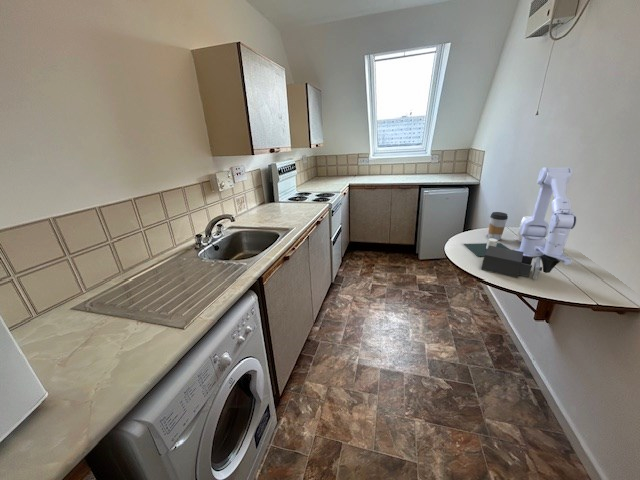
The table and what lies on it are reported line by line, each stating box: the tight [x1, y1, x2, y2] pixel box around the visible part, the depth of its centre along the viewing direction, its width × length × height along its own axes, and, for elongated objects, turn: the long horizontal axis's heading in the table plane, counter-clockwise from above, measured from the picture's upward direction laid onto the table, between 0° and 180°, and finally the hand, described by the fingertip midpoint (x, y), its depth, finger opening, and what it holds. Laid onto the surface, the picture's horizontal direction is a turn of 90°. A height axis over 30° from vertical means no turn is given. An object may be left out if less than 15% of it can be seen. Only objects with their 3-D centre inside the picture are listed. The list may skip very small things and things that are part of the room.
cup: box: [516, 215, 532, 243], centre depth 145 cm, size 8×8×14 cm
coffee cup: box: [487, 211, 509, 241], centre depth 152 cm, size 8×8×15 cm
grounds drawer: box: [518, 255, 543, 281], centre depth 117 cm, size 14×11×6 cm
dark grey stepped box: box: [481, 246, 523, 279], centre depth 121 cm, size 14×13×8 cm
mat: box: [463, 242, 510, 258], centre depth 141 cm, size 20×16×1 cm
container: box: [486, 238, 499, 249], centre depth 141 cm, size 4×4×5 cm
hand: (546, 272), depth 112 cm, fingers closed
